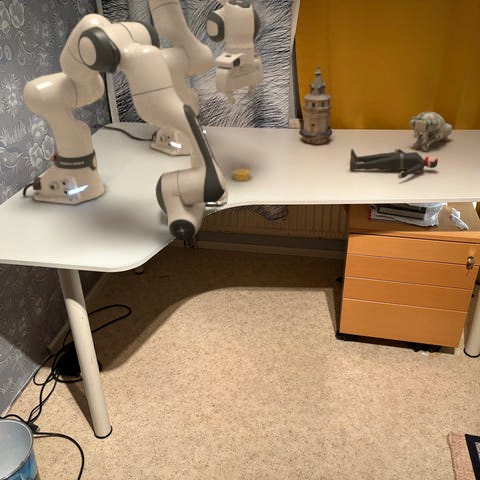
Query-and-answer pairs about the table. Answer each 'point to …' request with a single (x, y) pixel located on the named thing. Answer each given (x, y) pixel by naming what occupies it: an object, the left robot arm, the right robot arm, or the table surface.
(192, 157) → the jar
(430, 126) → the figurine
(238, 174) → the lid
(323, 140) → the miniature building
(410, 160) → the toy
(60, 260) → the table surface
